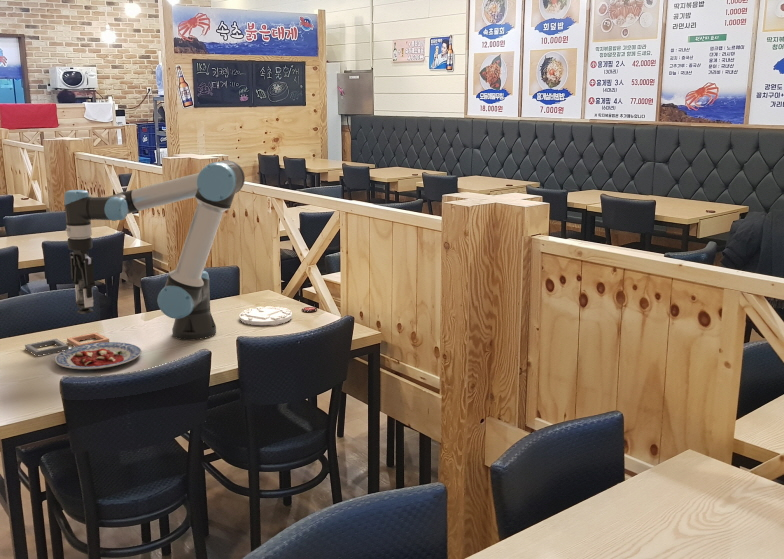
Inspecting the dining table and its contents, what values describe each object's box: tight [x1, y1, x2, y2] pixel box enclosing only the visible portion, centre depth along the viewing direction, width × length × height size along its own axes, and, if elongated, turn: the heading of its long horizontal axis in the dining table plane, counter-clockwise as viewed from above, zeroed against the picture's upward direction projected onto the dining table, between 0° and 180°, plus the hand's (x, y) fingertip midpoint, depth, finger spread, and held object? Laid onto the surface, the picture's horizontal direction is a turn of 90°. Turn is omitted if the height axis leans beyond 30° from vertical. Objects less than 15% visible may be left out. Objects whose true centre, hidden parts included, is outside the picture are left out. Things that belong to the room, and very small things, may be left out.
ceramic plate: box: [54, 341, 142, 370], centre depth 243 cm, size 26×26×3 cm
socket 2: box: [66, 332, 110, 347], centre depth 260 cm, size 10×10×2 cm
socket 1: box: [24, 338, 70, 357], centre depth 253 cm, size 10×10×2 cm
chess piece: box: [74, 278, 95, 315], centre depth 256 cm, size 6×6×12 cm
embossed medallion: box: [238, 305, 293, 326], centre depth 291 cm, size 20×20×3 cm
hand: (84, 304), depth 257 cm, fingers closed on chess piece, 6 cm apart
